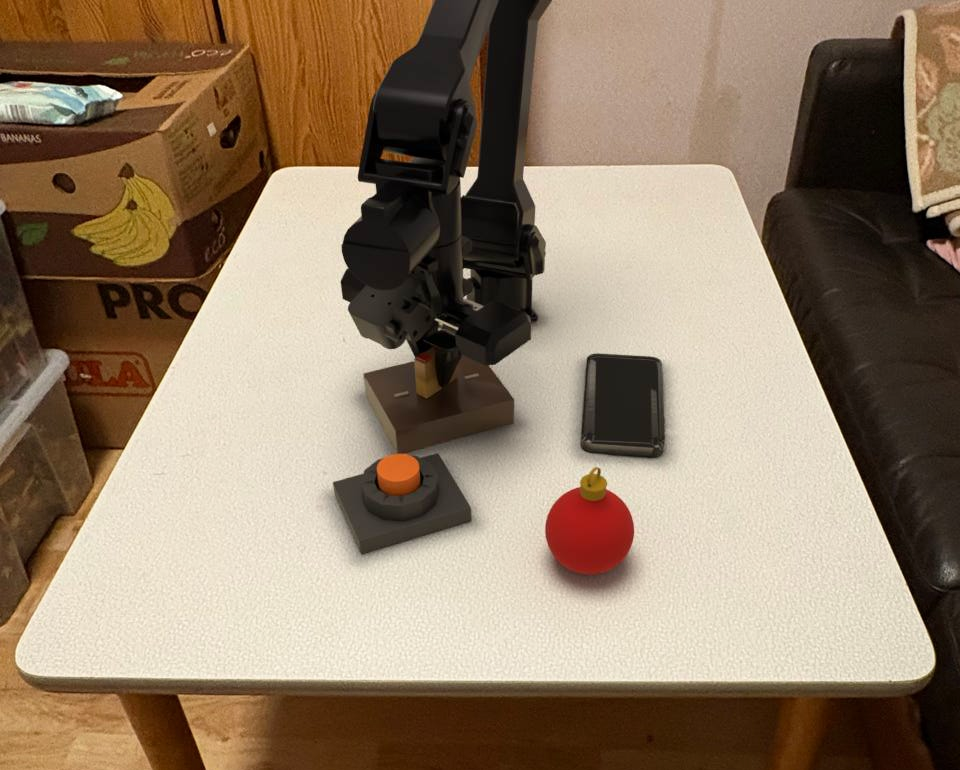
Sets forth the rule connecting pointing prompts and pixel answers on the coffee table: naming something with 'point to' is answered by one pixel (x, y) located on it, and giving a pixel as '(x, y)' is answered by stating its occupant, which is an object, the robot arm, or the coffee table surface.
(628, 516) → the christmas ornament
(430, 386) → the lock knob
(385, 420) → the plate
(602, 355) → the phone
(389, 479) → the bell button
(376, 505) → the block
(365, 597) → the coffee table surface
